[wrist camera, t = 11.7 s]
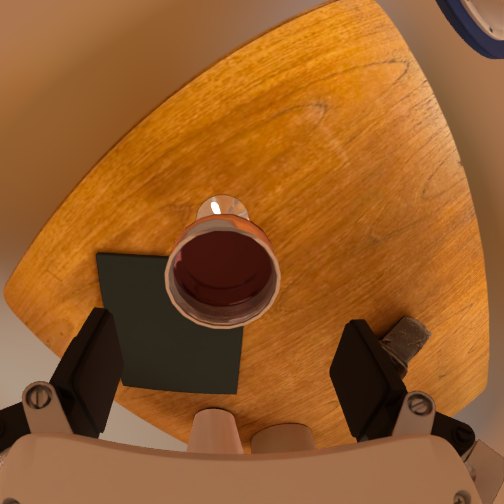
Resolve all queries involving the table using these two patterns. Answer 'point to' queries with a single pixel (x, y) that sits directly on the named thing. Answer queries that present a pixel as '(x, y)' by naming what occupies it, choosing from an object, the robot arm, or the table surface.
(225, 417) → the cup
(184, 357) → the mat
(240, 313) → the wineglass
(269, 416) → the table surface
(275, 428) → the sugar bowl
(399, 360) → the checkered cake slice
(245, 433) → the table surface
